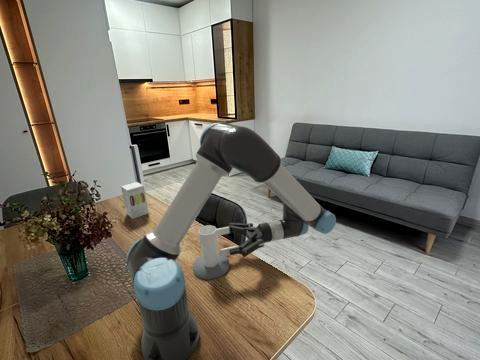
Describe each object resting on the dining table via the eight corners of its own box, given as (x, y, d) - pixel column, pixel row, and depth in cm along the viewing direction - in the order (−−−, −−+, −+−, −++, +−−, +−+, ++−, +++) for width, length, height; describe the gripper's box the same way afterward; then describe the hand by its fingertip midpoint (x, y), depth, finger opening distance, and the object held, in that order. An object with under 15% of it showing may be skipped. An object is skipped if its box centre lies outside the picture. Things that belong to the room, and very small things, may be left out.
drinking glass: (217, 256, 102) (213, 223, 97) (222, 266, 96) (219, 232, 91) (200, 261, 100) (196, 227, 95) (204, 271, 94) (200, 236, 89)
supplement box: (132, 219, 137) (125, 190, 131) (126, 213, 143) (119, 186, 137) (149, 213, 143) (144, 185, 137) (142, 208, 149) (137, 181, 143)
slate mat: (236, 269, 96) (235, 267, 95) (201, 285, 89) (201, 282, 89) (219, 250, 107) (219, 248, 107) (187, 263, 101) (187, 260, 100)
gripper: (282, 258, 91) (224, 272, 86) (259, 224, 113) (211, 233, 108) (283, 240, 88) (222, 253, 83) (258, 209, 111) (210, 218, 106)
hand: (216, 242), depth 96 cm, fingers open, 13 cm apart
